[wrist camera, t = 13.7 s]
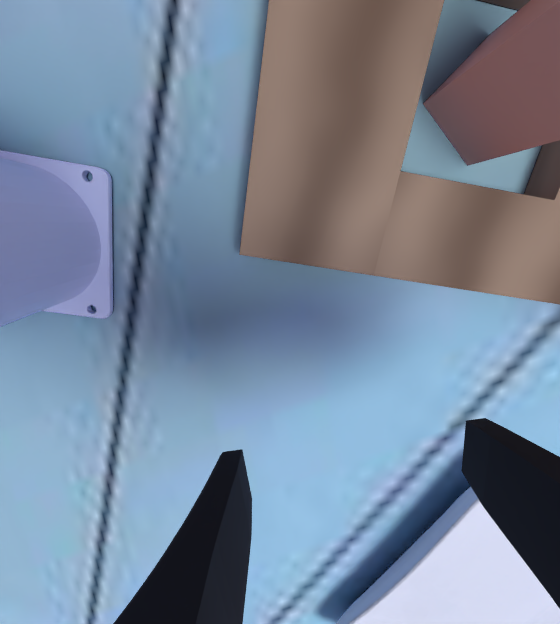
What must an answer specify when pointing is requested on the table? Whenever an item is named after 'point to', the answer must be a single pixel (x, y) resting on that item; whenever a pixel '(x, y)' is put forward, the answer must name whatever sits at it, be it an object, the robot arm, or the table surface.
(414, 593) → the salad plate
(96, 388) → the table surface
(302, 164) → the jig board
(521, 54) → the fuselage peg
